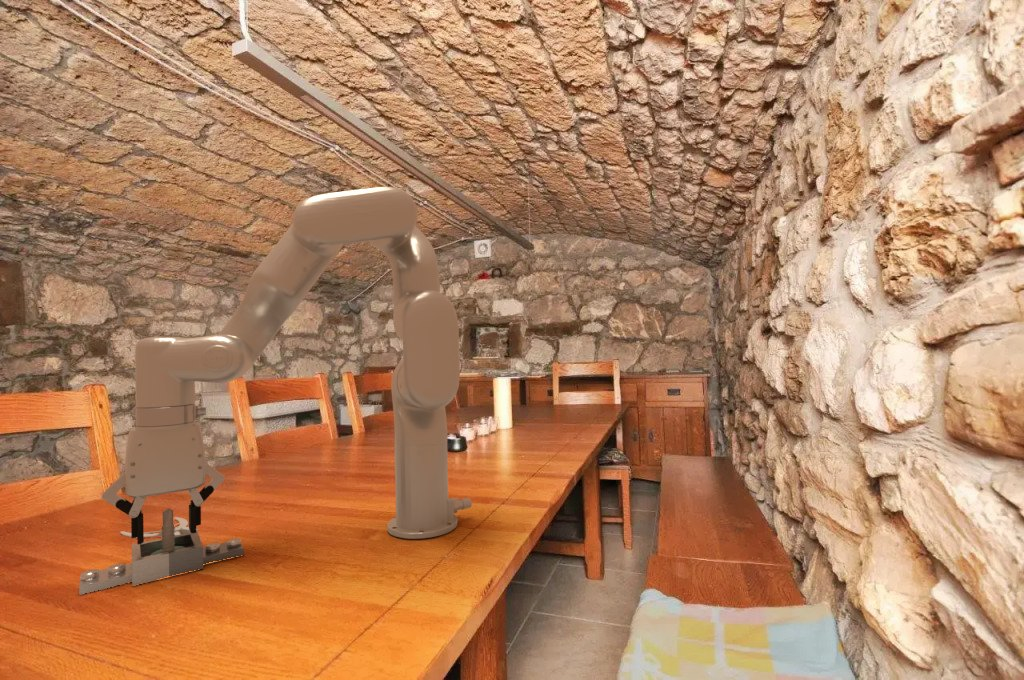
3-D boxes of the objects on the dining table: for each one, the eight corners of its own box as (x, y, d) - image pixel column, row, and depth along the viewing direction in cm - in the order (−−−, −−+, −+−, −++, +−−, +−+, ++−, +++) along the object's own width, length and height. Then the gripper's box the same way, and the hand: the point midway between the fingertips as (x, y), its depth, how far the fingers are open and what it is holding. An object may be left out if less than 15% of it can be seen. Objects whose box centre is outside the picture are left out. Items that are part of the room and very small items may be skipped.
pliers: (177, 512, 101) (217, 524, 93) (177, 520, 100) (217, 532, 93) (118, 527, 92) (156, 541, 84) (118, 536, 92) (156, 551, 84)
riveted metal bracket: (236, 543, 86) (236, 523, 86) (245, 559, 79) (245, 536, 79) (82, 578, 73) (82, 554, 73) (78, 600, 67) (78, 573, 67)
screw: (140, 573, 75) (173, 559, 79) (162, 577, 73) (195, 563, 78) (139, 512, 75) (173, 502, 80) (162, 515, 73) (194, 505, 78)
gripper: (226, 410, 85) (227, 517, 84) (94, 421, 74) (94, 543, 74) (234, 414, 79) (235, 529, 79) (91, 426, 68) (91, 559, 68)
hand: (167, 535), depth 76 cm, fingers open, 6 cm apart
